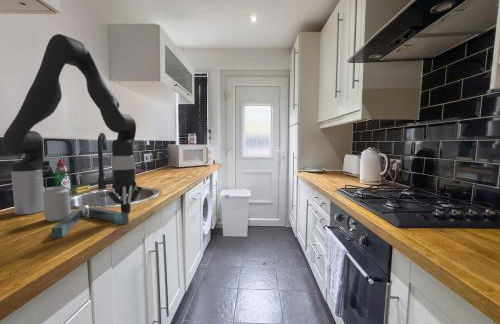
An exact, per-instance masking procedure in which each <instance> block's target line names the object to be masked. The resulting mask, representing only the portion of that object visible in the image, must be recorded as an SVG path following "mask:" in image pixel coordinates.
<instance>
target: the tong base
mask: <svg viewBox="0 0 500 324" xmlns="http://www.w3.org/2000/svg"><path fill="white" fill-rule="evenodd" d="M89 208H90V207H89V204H88V205H86V204H85V205H84V204H83V205H80V206H79V208H78V209H79V210H72V211H71V213H70V214H69V215H68V216H67V217H65V218H64V219H63V220H62V221H58V223H56V224H55V225H54V226H53V227H51V239H52V240H53V239H62V238H65V236H66V235H67V233H69V231H71V229H73V227H75V226H76V225H77V223H78V222H79V221H80V220H81V219H84V218H88V217H90V216H89Z"/></svg>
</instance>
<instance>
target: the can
mask: <svg viewBox="0 0 500 324" xmlns="http://www.w3.org/2000/svg"><path fill="white" fill-rule="evenodd" d="M43 199H44V220H45V221H48V222H50V223H51V222H52V223H53V222H54V223H55V222H61V221H62V220H63V219H64V218H65V217H67V216H68V215H69V214H70V213H71V212H72V211H71V209H72V208H71V197H70V189H68V186H64V185H63V186H62V185H60V186H59V185H58V186H50V187H45V192H44V193H43Z"/></svg>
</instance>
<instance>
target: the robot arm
mask: <svg viewBox="0 0 500 324" xmlns="http://www.w3.org/2000/svg"><path fill="white" fill-rule="evenodd" d="M42 57H43V58H42V60H41V63H40V66H39V69H38V70H37V72H36V74H35V77H34V80H33V82H32V84H31V86H30V88H29V89H28V91H27V93H26V95H25V98H24V100H23V101H22V105H20V106H21V107H20V108H19V110H18V112H17V114H16V116H15V118H14V119H13V120H12V122H11V123H10V124H9V127H8V128H7V129H6V130H5V133H4V134H3V137H2V141H1V145H2V148H3V150H4V152H6V153H9V154H13V155H14V154H15V155H18V154H19V155H23V154H24V157H23V158H21V160H19V161H16V162H13V163H11V164H10V173H11V183H12V185H11V186H12V194H13V195H12V196H13V207H14V209H13V210H14V215H17V216H22V215H32V214H36V213H41V212H43V211H44V199H43V193H44V192H45V191H46V190H45V189H46V187H45V186H44V175H43V174H44V173H43V164H44V141H43V136H42V135H41V133H39V132H38V131H35V130H32V128H34V126H36V125H37V124H39V123H40V122H42V121H44V120H46V119H47V118H48V117H50V116H52V115H53V114H54V112H55V111H56V109H57V108H58V106H59V104H60V102H61V101H62V97H63V93H62V88H61V84H60V76H61V73H62V71H63V69H64V66H65V65H70V66H74V67H76V69H78V70H79V71H80V72H81V74H82V75H83V76H84V78H85V83H86V88H87V89H86V90H87V93H88V95H89V97H90V99H91V100H92V102H94V104H95V105H96V107H97V108H98V109H99V111H100V115H101V117H102V120H103V122H104V124H105V126H106V127H107V129H109V130H110V131H111V132H113V133H117V137H116V139H115V140H113V141H112V143H111V152H112V153H111V154H112V157H111V172H112V173H111V174H112V182H113V183H112V186H111V189H110V190H109V191H108V190H107V191H106V192H105V194H106V195H107V196H108V197H109V198H110V199H111V200H112V202H114V203H115V204H119V205H120V212H122V213H127V214H128V215H129V214H130V212H131V203H133V202H135V201H136V199H137V197H139V194H140V193H141V191H142V190H143V187H141V186H139V185H137V183H136V162H135V156H134V143H135V137H136V132H137V124H136V121H135V118H134V117H132V116H131V115H129V114H124V113H122V112H121V111H120V109H119V108H120V103H119V100H118V99H117V97H116V96H115V95H114V93H113V92H112V90H111V89H110V88H109V86H108V84H107V83H106V82H105V79H104V78H103V76H102V74H101V72H100V70H99V68H98V66H97V64H96V62H95V60H94V58H93V56H92V54H91V52H90V50H89V49H88V47H87V46H86V44H85V43H83V42H81V41H80V40H77V39H74V38H72V37H71V36H67V35H65V34H61V33H56V34H54V35H52V36H51V38H50V39H49V41H48V43H47V45H46V47H45V50H44V54H43V56H42ZM116 194H117V195H116Z"/></svg>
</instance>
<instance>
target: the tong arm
mask: <svg viewBox="0 0 500 324" xmlns="http://www.w3.org/2000/svg"><path fill="white" fill-rule="evenodd" d="M89 217H91V218H94V219H99V220H103V221H107V222H111V223H115V224H118V225H126V224H128V223H130V220H129V217H130V216H129V213H128V214H127V213H122V212H121V211H115V210H110V209H106V208H101V207H98V206H97V207H96V206H94V207H89Z"/></svg>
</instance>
